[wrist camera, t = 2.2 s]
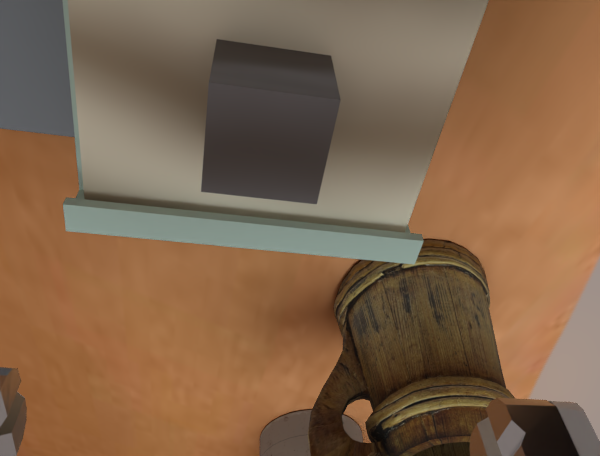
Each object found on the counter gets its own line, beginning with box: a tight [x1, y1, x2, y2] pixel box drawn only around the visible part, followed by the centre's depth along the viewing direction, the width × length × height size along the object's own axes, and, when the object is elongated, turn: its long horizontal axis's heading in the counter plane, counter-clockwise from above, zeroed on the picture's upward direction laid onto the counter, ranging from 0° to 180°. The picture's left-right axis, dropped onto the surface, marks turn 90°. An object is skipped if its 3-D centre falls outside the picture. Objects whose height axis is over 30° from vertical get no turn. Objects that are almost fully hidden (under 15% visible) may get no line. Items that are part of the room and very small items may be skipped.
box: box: [62, 0, 466, 264], centre depth 21 cm, size 11×13×8 cm
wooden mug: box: [307, 240, 515, 456], centre depth 28 cm, size 9×14×18 cm, turn 90°
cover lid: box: [68, 0, 489, 233], centre depth 18 cm, size 10×12×4 cm
